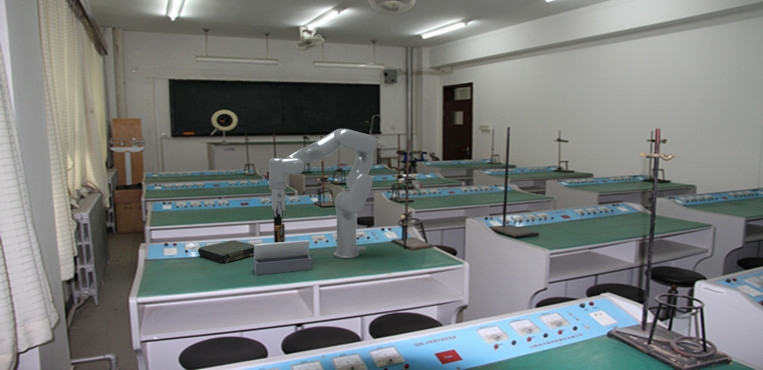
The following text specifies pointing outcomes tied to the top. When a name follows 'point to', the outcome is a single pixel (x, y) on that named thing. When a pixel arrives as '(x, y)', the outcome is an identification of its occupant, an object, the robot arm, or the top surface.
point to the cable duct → (282, 264)
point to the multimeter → (279, 232)
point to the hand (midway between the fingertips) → (277, 225)
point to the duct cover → (281, 249)
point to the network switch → (227, 251)
